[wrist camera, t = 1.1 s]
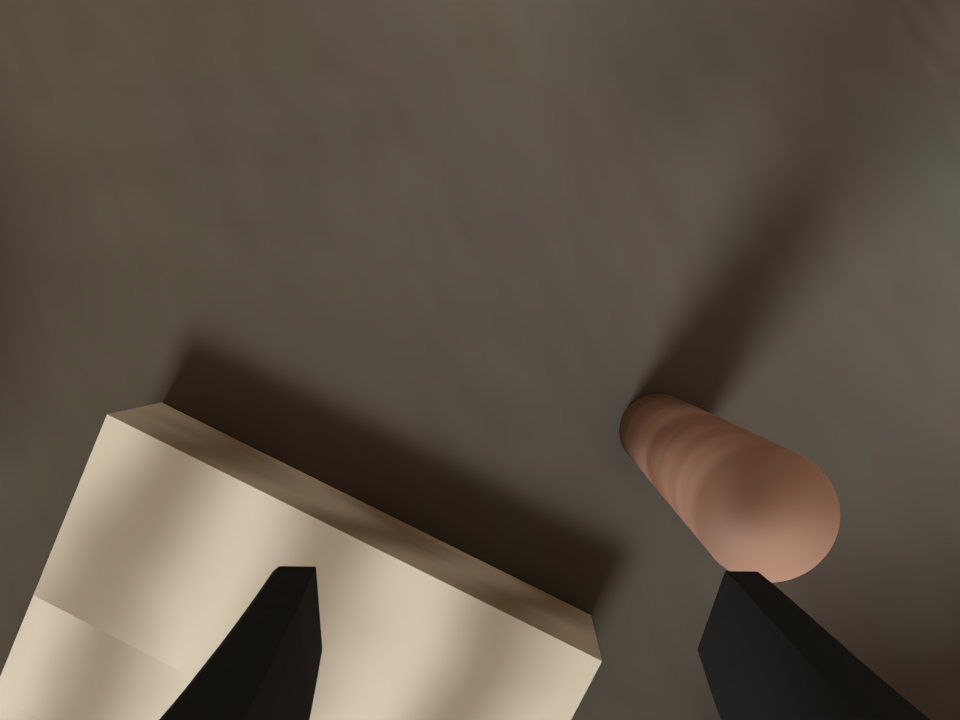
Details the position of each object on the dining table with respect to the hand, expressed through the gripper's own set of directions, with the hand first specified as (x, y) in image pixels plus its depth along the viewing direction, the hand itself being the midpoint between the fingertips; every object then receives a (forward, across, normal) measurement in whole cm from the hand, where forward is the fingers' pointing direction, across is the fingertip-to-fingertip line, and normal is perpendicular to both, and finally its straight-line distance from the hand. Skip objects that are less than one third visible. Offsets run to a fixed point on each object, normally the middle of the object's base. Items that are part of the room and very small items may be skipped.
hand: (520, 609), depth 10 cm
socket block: (+8, +8, +16) cm, 20 cm away
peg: (+11, -7, +3) cm, 13 cm away
